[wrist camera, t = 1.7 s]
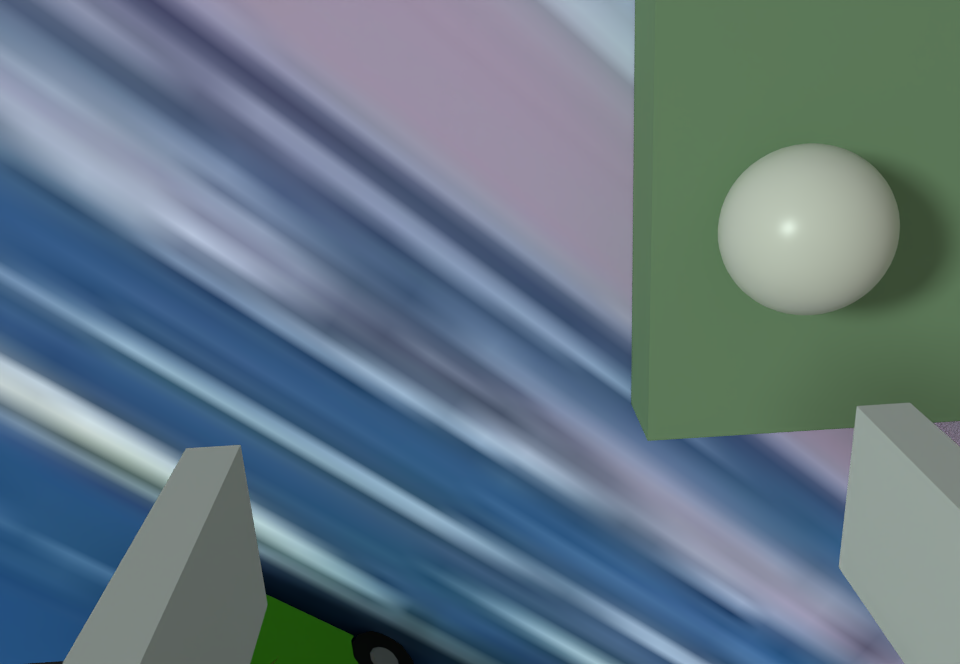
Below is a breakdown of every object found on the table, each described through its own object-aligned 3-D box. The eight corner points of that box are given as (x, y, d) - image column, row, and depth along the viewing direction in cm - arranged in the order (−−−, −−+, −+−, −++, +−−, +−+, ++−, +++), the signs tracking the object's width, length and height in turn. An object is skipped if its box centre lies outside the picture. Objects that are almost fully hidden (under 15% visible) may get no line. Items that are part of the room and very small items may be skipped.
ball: (845, 280, 29) (922, 334, 24) (695, 289, 29) (743, 346, 24) (861, 126, 27) (946, 154, 23) (701, 136, 27) (753, 165, 23)
